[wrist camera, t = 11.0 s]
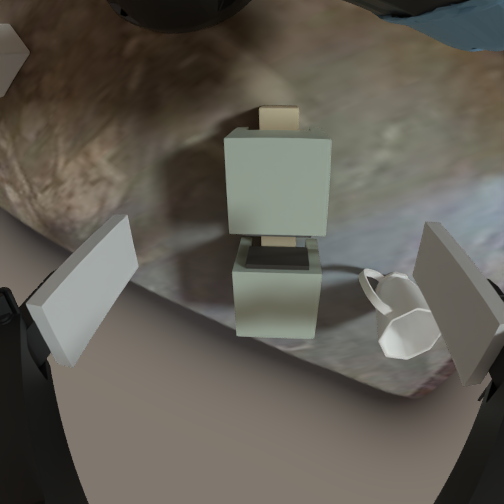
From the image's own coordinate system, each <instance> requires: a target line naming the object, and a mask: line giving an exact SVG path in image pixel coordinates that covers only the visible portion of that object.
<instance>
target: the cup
mask: <svg viewBox="0 0 504 504" xmlns="http://www.w3.org/2000/svg"><path fill="white" fill-rule="evenodd" d="M366 276H368V277H372V278H374V279H376V280H378V281H379V282H378V284H377V286H376V288H375V292H376V293H375V292H374V290H373V289H372V287H371V285H370V283H369V281H368V279H367V277H366ZM359 282H360V284H361V287H362V289H363V291H364V292H365V294H366V296H367V297H368V299H369V300H370V302H371V303H372V304H373V305H374V306H375V307H376V318H377V332H378V342H379V344H380V346H381V348H382V350H383V352H384V354H385V356H386V357H391V358H399V359H406V360H407V359H410V358H412V357H414V356H416V355H419V354H421V353H423V352H425V351H427V350H429V349H431V347H432V346H433V345H434V343H435V342H436V341H437V339H438V338H439V336H440V335H441V332H440V330H439V327H438V325H437V323H436V321H435V319H434V317H433V315H432V313H431V311H430V308H429V306H428V304H427V302H426V300H425V298H424V296H423V294H422V292H421V290H420V289H419V287H418V286H417V285H415V284H414V283H413V282H412V281H411V280H408V277H407V275H406V274H402V273H398V272H395V271H394V272H392V273H390V274H388V275H386V276H383V275H382V274H381V273H379V272H377V271H375V270H371V269H364V270H363V271H362V272H361V273H360V274H359ZM376 294H377V295H376Z"/></svg>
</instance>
